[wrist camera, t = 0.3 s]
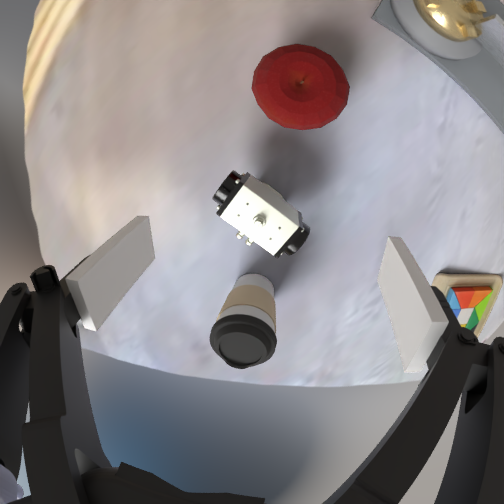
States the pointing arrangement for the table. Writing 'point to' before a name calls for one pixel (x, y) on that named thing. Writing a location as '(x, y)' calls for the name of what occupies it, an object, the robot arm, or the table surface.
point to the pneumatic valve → (260, 214)
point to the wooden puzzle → (470, 296)
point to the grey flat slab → (452, 53)
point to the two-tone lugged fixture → (464, 23)
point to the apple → (300, 87)
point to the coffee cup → (246, 323)
